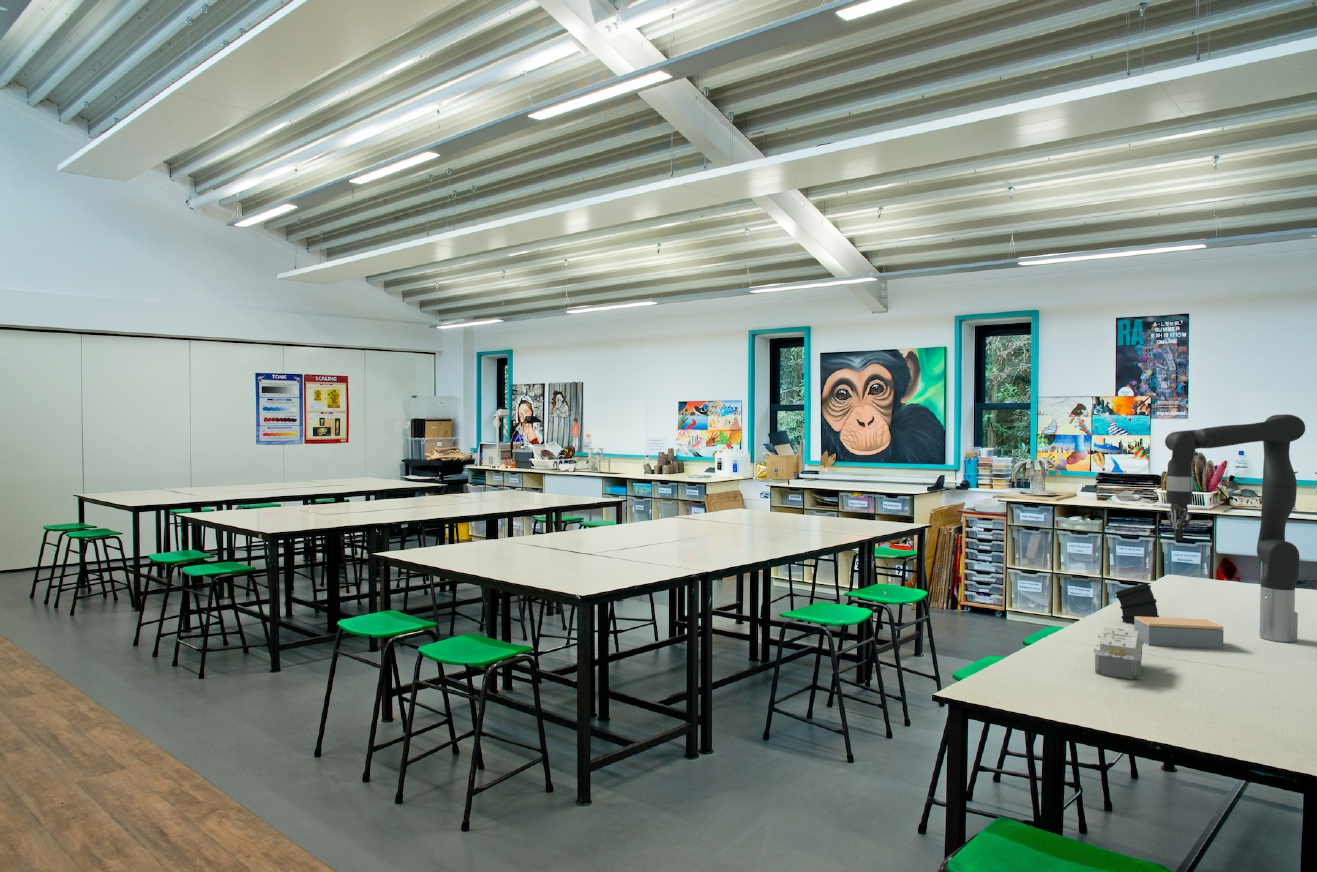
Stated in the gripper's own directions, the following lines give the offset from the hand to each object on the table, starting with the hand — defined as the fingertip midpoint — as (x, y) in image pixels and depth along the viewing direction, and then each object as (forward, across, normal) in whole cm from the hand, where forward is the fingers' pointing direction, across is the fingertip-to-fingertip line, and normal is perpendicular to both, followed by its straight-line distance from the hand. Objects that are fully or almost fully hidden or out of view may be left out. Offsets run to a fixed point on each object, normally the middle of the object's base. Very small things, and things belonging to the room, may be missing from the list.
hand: (1178, 540), depth 278 cm
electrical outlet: (+32, -51, +38) cm, 71 cm away
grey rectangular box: (+32, -14, +6) cm, 35 cm away
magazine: (+32, +12, +8) cm, 35 cm away
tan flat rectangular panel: (+26, -14, +6) cm, 30 cm away
